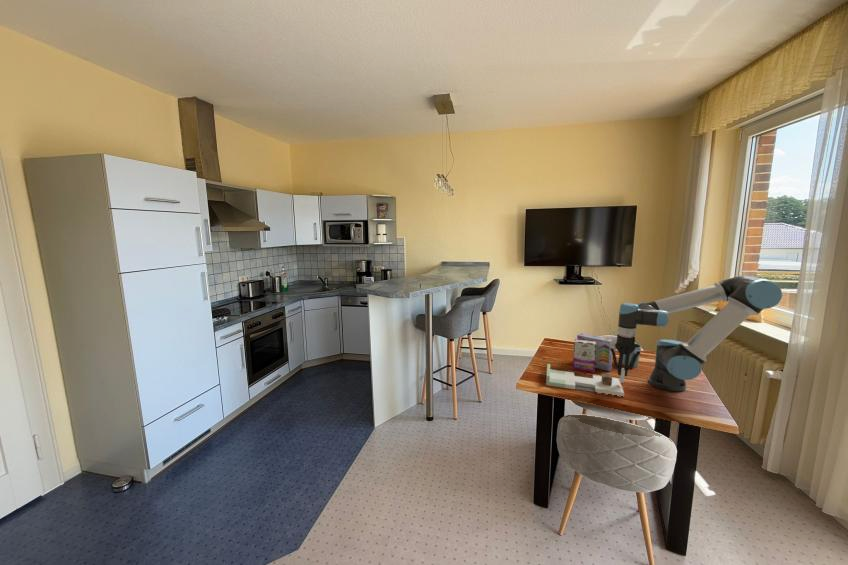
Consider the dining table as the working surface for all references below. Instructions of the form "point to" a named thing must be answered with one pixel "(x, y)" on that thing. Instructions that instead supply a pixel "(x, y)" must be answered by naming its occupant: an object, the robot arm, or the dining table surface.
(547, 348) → the dining table surface
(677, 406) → the dining table surface
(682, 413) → the dining table surface
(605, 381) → the walnut block
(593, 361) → the candy bar box
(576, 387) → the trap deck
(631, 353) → the drinking glass
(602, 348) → the cake pan box
